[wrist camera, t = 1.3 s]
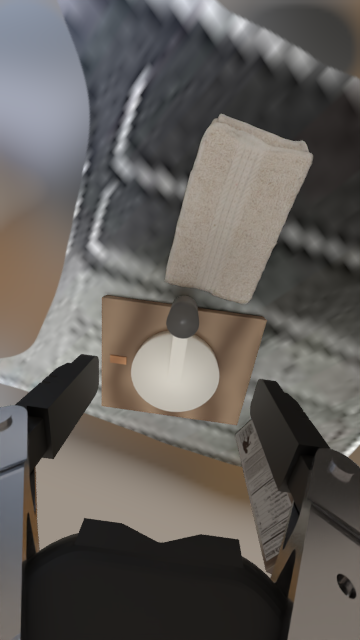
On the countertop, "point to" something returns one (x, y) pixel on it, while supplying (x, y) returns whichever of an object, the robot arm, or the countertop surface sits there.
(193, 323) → the dial
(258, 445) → the coffee box
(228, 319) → the dial board
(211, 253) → the washcloth
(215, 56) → the countertop surface
